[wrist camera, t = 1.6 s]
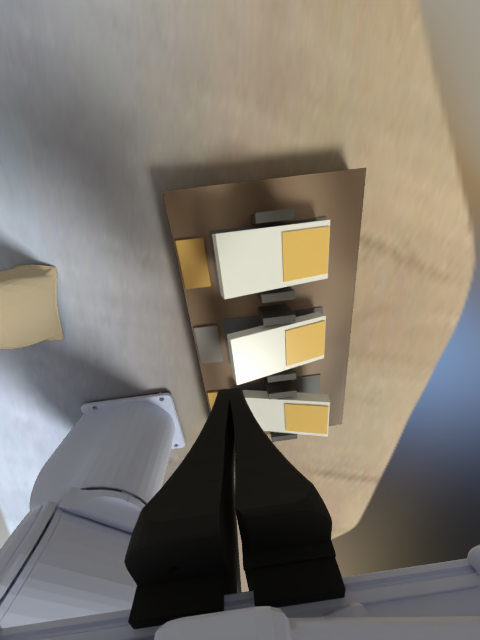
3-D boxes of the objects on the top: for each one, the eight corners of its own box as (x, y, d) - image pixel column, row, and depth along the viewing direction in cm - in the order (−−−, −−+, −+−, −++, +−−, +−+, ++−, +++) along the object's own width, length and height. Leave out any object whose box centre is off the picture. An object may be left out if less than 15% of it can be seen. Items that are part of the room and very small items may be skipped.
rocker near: (221, 295, 15) (225, 299, 14) (211, 234, 14) (215, 234, 13) (319, 276, 17) (328, 278, 16) (320, 220, 16) (331, 219, 15)
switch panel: (216, 426, 26) (215, 464, 22) (169, 195, 17) (150, 183, 12) (333, 410, 26) (354, 445, 22) (350, 174, 17) (392, 156, 13)
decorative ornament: (16, 332, 20) (-52, 366, 15) (0, 237, 17) (-90, 241, 12) (64, 340, 21) (14, 375, 16) (57, 249, 18) (-7, 257, 13)
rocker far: (243, 420, 23) (241, 429, 22) (238, 389, 21) (236, 398, 20) (326, 427, 21) (327, 437, 20) (328, 394, 19) (330, 403, 18)
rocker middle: (233, 377, 18) (237, 386, 17) (226, 334, 16) (231, 340, 15) (316, 352, 20) (324, 358, 19) (318, 311, 18) (326, 315, 17)
